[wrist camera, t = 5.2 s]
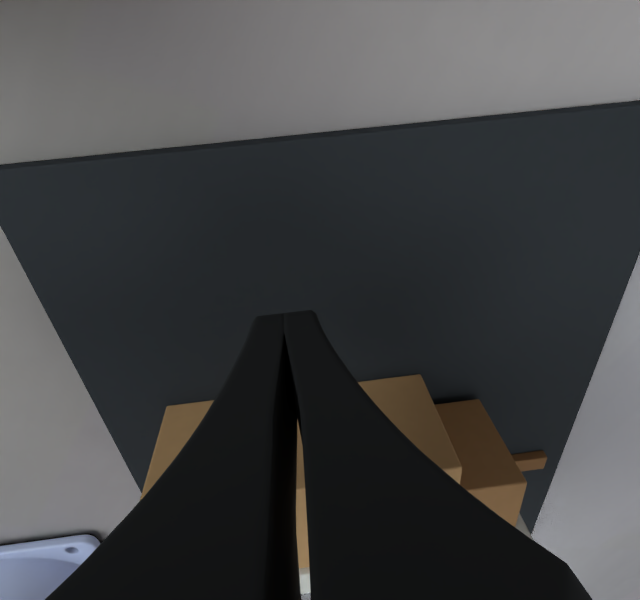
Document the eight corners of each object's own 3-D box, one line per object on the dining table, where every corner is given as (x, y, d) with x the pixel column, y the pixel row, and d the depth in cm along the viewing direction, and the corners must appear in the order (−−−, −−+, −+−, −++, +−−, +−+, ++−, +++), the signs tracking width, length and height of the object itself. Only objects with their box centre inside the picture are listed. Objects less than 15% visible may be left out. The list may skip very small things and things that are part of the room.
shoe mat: (193, 580, 23) (191, 599, 22) (-18, 166, 11) (-39, 178, 10) (524, 532, 24) (532, 549, 23) (684, 95, 11) (713, 101, 11)
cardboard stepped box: (192, 493, 18) (171, 614, 14) (158, 401, 15) (121, 520, 11) (476, 455, 18) (529, 562, 15) (492, 360, 16) (562, 461, 12)
